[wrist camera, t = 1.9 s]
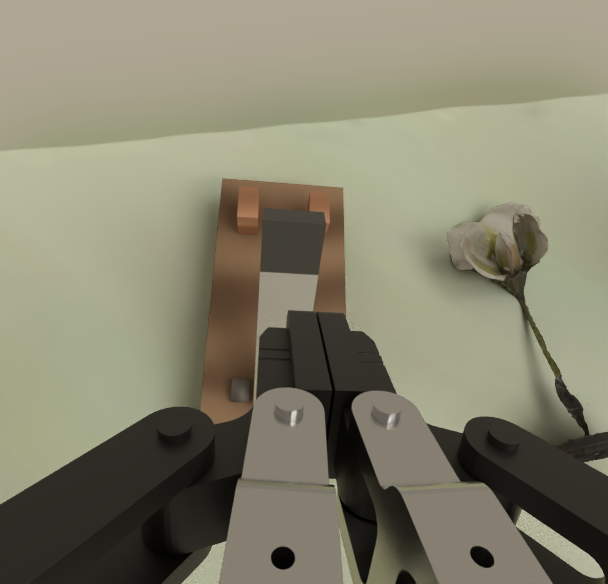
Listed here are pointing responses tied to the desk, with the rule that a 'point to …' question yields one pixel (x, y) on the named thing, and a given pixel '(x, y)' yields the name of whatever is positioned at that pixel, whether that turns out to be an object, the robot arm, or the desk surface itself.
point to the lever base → (245, 284)
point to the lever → (287, 266)
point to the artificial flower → (519, 289)
